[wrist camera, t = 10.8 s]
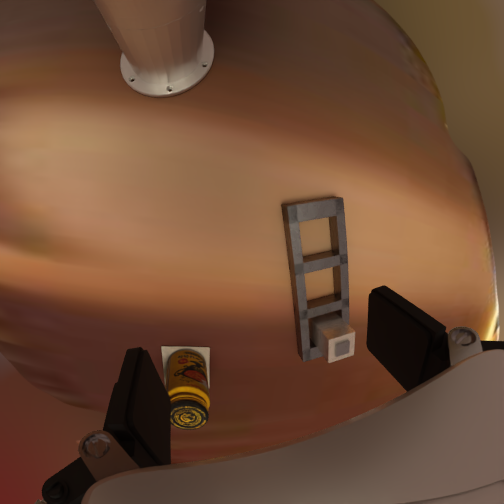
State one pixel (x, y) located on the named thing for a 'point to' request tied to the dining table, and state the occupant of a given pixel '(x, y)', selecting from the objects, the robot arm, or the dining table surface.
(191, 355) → the condiment
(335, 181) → the dining table surface
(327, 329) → the block
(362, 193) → the dining table surface
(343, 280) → the grey flat rectangular frame
